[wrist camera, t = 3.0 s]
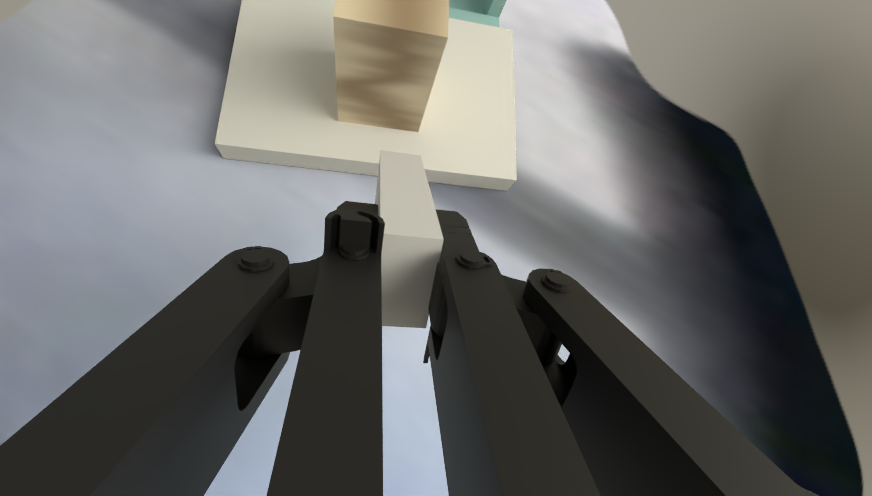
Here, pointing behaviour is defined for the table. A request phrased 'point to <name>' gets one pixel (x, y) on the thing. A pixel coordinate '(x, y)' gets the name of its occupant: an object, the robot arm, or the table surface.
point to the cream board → (355, 143)
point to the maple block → (387, 59)
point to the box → (477, 11)
